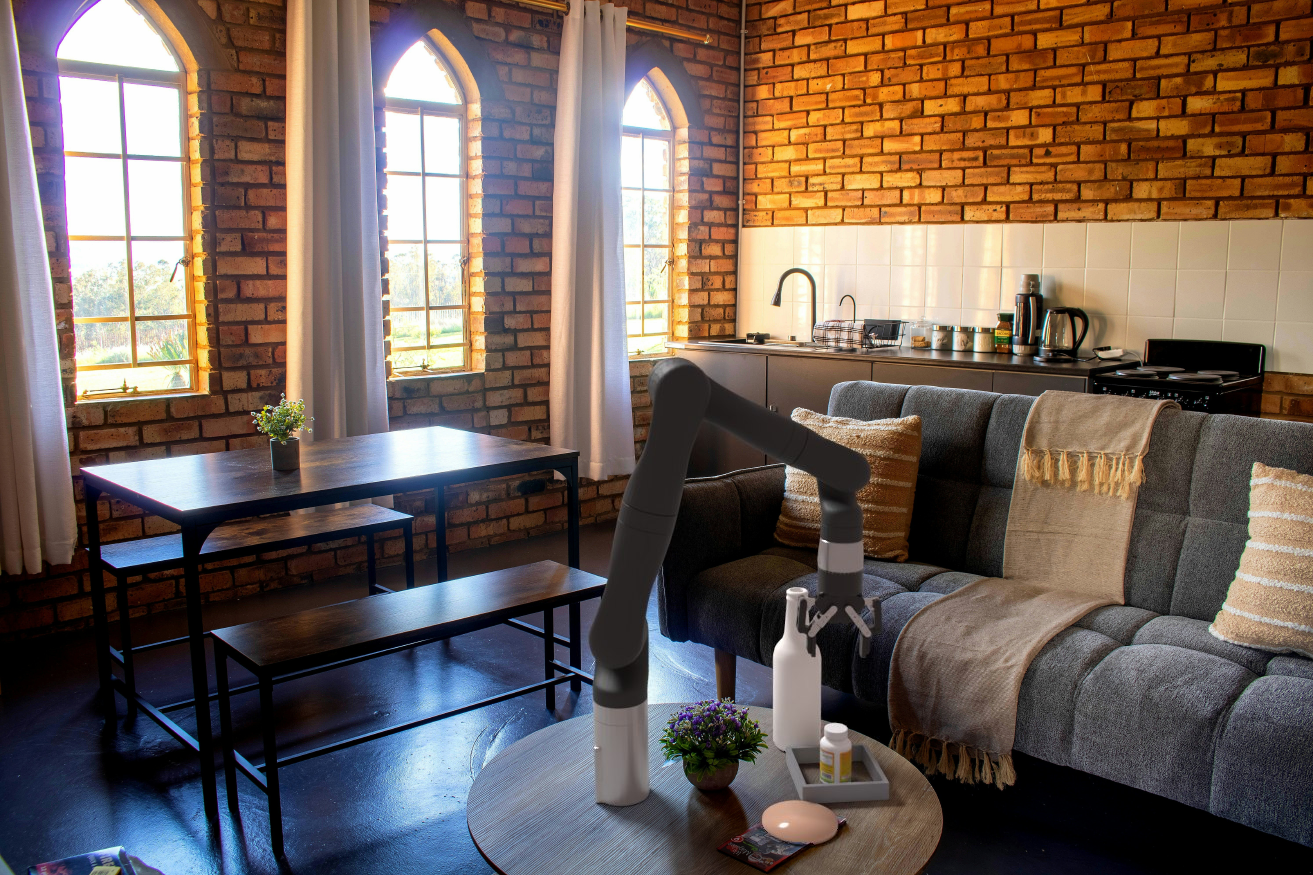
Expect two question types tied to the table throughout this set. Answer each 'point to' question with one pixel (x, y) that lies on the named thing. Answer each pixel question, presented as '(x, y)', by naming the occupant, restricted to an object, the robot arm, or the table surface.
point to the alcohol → (796, 684)
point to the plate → (800, 822)
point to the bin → (837, 791)
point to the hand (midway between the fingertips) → (837, 655)
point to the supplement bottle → (835, 754)
